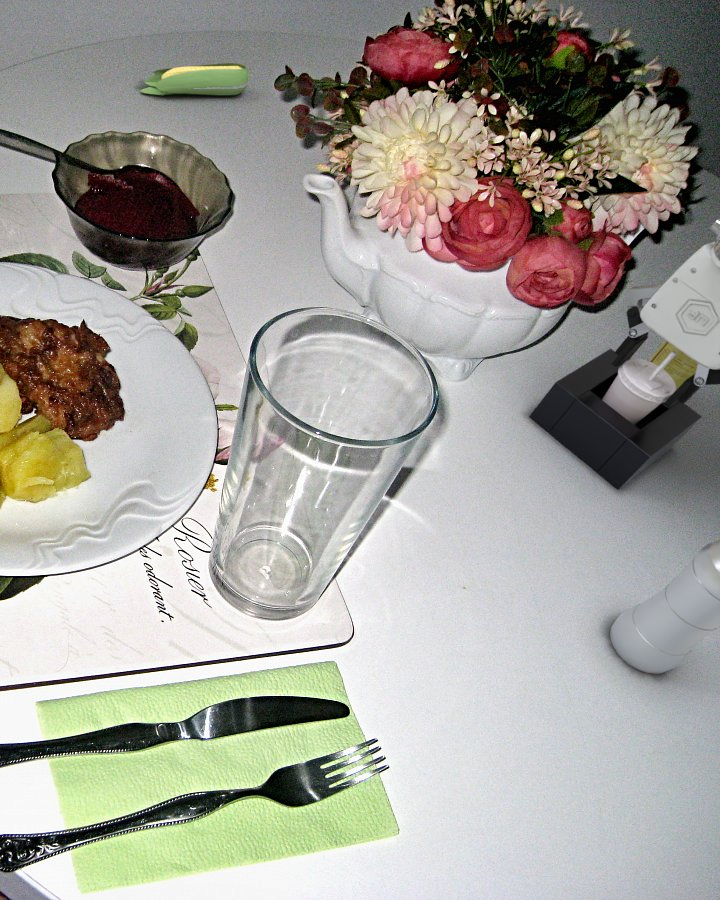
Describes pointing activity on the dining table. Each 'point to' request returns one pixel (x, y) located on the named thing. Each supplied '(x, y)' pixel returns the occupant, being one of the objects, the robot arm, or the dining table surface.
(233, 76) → the edible corn
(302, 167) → the dining table surface
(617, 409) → the smoothie
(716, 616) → the plastic bottle
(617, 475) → the dark storage bin
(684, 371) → the sauce bottle
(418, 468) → the dining table surface
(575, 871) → the dining table surface
